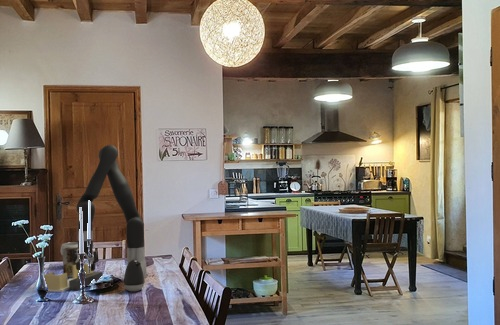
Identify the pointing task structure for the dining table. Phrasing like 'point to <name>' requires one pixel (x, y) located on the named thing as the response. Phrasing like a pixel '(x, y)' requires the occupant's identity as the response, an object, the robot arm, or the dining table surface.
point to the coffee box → (68, 260)
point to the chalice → (66, 245)
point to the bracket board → (62, 279)
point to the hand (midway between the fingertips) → (85, 270)
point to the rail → (75, 283)
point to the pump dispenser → (134, 276)
